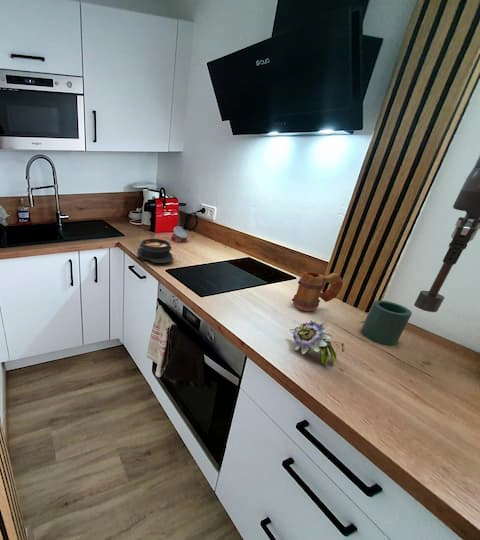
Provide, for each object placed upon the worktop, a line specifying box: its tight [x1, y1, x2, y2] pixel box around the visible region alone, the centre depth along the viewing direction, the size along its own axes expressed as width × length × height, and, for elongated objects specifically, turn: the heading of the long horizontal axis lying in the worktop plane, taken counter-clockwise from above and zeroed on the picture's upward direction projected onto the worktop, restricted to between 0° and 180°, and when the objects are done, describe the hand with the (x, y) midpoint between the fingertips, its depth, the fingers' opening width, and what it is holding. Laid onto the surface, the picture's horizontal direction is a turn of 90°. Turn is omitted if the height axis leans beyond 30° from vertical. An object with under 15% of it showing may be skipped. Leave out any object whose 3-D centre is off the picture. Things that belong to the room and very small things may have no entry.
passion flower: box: [289, 320, 346, 366], centre depth 83 cm, size 11×11×12 cm
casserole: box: [137, 238, 174, 264], centre depth 152 cm, size 25×19×8 cm
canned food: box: [170, 225, 188, 244], centre depth 183 cm, size 11×10×10 cm
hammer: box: [413, 242, 464, 313], centre depth 71 cm, size 4×4×18 cm
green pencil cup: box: [360, 299, 413, 346], centre depth 91 cm, size 9×9×11 cm
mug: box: [291, 270, 344, 312], centre depth 105 cm, size 15×8×15 cm, turn 80°
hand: (449, 261), depth 70 cm, fingers closed on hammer, 2 cm apart
